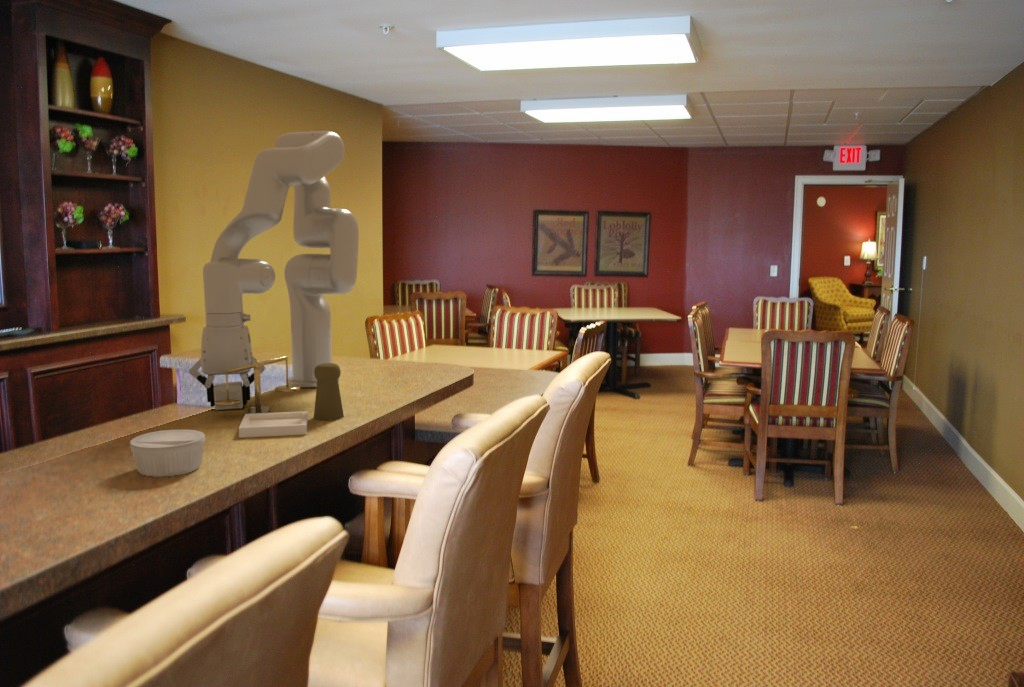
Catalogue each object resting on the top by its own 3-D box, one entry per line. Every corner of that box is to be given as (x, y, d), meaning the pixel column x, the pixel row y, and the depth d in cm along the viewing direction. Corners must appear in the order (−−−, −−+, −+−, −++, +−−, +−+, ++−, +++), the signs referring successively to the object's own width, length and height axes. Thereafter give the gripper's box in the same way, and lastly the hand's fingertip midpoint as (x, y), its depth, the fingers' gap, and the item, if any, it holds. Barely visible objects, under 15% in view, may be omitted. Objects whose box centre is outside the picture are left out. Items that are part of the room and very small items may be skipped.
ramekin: (140, 484, 128) (138, 450, 127) (124, 467, 137) (122, 435, 136) (215, 471, 134) (214, 439, 133) (195, 456, 143) (193, 426, 142)
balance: (217, 414, 174) (214, 355, 172) (301, 410, 178) (299, 353, 176) (213, 420, 168) (210, 360, 167) (300, 417, 172) (298, 357, 170)
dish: (245, 422, 167) (245, 413, 167) (308, 420, 169) (307, 411, 169) (239, 437, 155) (238, 428, 155) (306, 434, 158) (306, 425, 157)
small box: (216, 404, 183) (215, 382, 182) (244, 403, 184) (243, 381, 183) (214, 410, 177) (212, 387, 176) (242, 408, 179) (241, 386, 178)
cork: (336, 421, 168) (335, 366, 167) (308, 419, 170) (306, 365, 168) (348, 414, 174) (347, 361, 173) (321, 413, 176) (319, 360, 174)
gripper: (268, 317, 183) (272, 399, 186) (184, 319, 180) (189, 402, 182) (265, 321, 176) (270, 406, 179) (178, 324, 172) (183, 410, 175)
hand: (229, 403), depth 181 cm, fingers closed on small box, 5 cm apart
